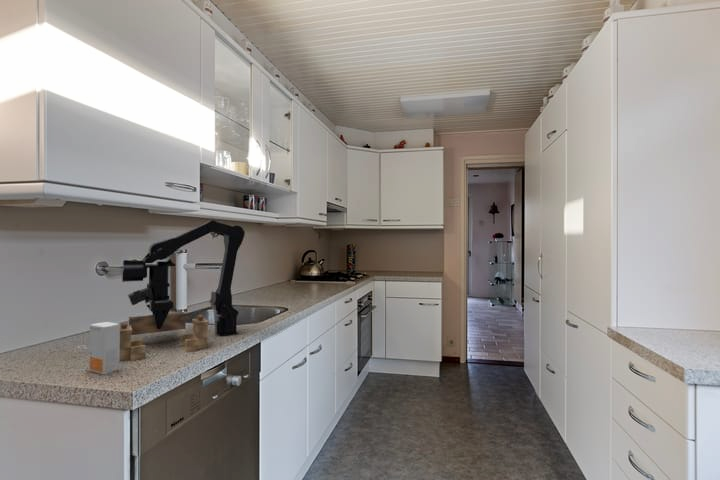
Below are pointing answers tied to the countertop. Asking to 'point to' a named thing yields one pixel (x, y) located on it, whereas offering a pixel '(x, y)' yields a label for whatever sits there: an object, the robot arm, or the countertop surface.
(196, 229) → the robot arm
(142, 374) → the countertop surface
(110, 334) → the skincare box
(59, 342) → the countertop surface
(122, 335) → the wooden stepped supports
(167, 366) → the countertop surface
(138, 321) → the rail
